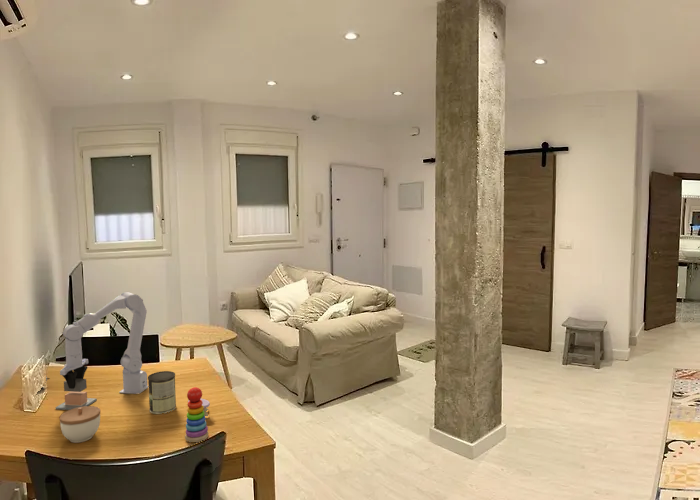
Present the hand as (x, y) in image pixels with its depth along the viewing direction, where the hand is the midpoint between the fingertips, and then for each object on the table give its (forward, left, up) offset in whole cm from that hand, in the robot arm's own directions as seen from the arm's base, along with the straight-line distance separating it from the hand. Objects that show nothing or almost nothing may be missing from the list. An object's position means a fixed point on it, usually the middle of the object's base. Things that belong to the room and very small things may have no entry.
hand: (75, 386), depth 195 cm
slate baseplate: (0, 0, -8) cm, 8 cm away
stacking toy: (-62, +22, -8) cm, 66 cm away
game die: (+29, -15, -8) cm, 34 cm away
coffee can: (-38, 0, -8) cm, 38 cm away
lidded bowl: (-21, +26, -8) cm, 34 cm away
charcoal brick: (0, 0, -2) cm, 2 cm away
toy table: (-55, +4, -8) cm, 56 cm away
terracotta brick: (0, 0, -7) cm, 7 cm away
